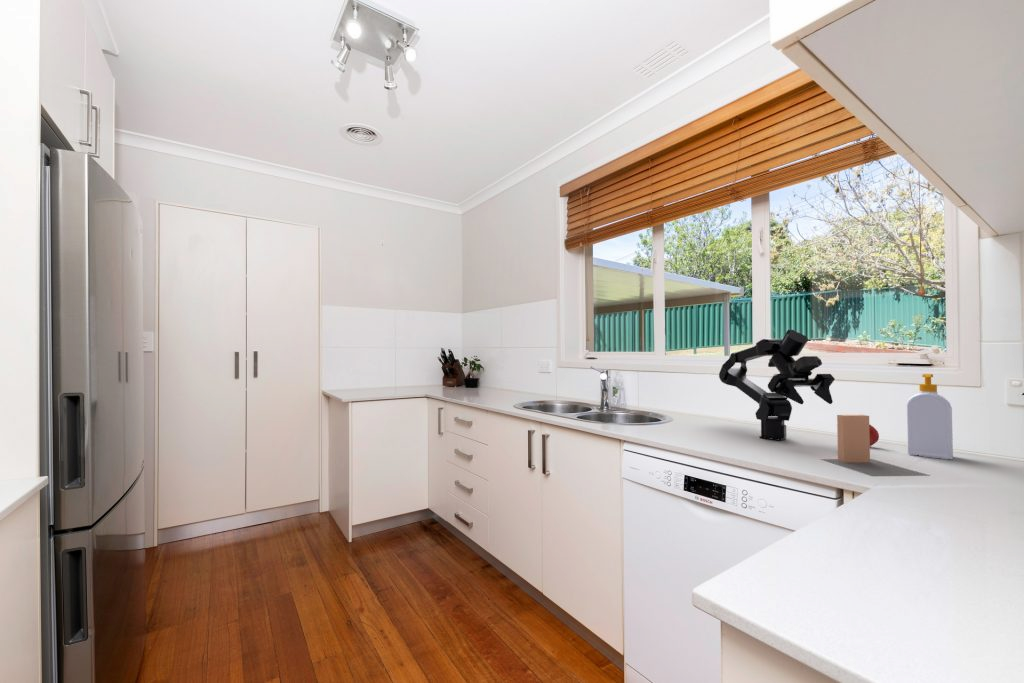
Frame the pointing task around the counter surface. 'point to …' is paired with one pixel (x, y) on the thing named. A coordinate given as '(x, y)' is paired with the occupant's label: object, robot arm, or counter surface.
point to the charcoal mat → (876, 468)
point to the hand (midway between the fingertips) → (817, 403)
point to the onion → (873, 435)
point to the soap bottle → (929, 423)
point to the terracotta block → (853, 438)
